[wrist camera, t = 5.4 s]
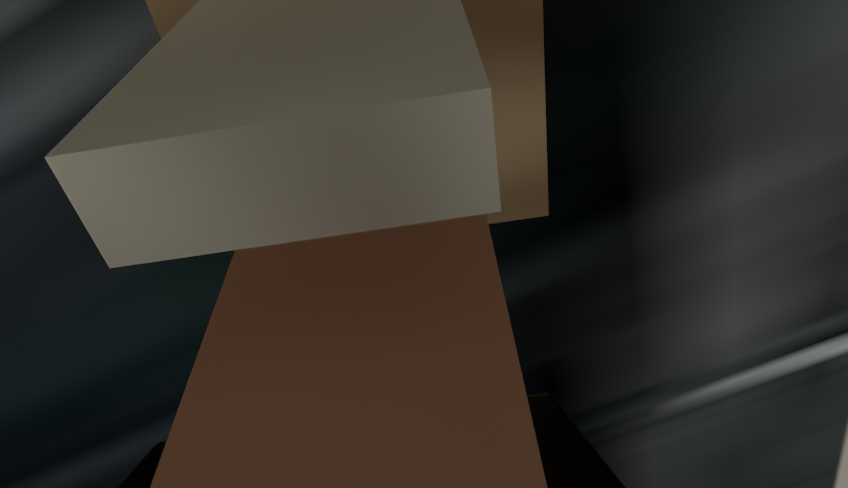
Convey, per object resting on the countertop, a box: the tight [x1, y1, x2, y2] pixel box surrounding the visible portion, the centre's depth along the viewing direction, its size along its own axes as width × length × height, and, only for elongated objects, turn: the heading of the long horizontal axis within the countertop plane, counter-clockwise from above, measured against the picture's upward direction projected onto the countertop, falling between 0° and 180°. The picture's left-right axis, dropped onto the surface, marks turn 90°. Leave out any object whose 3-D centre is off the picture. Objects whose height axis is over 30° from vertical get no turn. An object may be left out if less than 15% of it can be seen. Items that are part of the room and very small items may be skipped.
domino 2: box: [44, 0, 501, 268], centre depth 11 cm, size 2×5×10 cm, turn 99°
